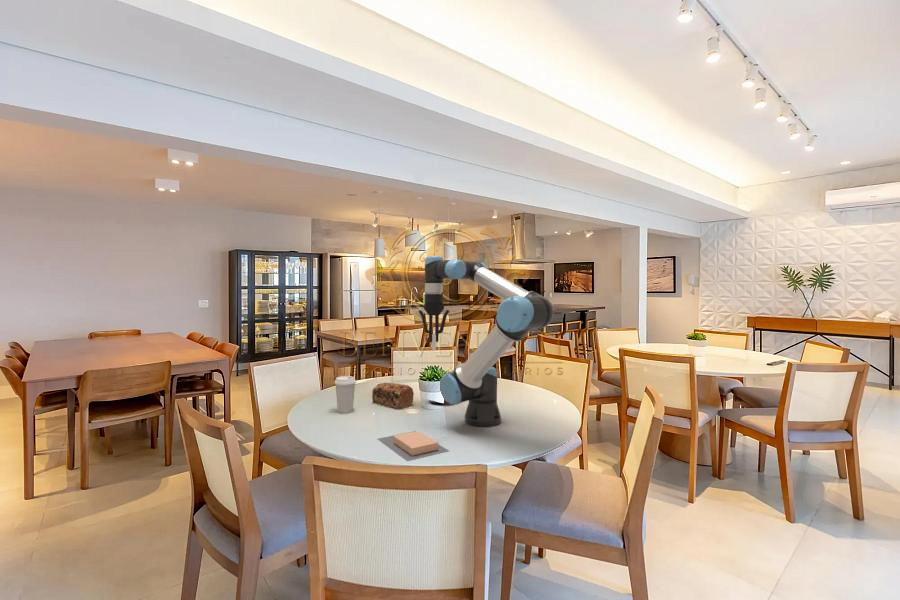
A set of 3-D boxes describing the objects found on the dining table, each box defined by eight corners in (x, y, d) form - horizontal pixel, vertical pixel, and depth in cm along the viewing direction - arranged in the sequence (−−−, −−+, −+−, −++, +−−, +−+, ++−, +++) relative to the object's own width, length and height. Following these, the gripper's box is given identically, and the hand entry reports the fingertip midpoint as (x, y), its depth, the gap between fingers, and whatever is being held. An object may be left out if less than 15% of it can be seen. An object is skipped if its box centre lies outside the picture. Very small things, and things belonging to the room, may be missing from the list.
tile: (393, 435, 152) (412, 448, 140) (418, 430, 157) (438, 442, 145) (393, 443, 152) (412, 456, 140) (418, 438, 157) (438, 450, 145)
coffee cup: (350, 414, 187) (350, 380, 187) (330, 413, 189) (330, 379, 189) (359, 408, 196) (359, 376, 196) (340, 407, 198) (340, 375, 198)
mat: (376, 439, 156) (376, 438, 156) (415, 432, 165) (415, 431, 165) (407, 462, 136) (407, 461, 136) (449, 452, 145) (449, 451, 145)
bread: (414, 405, 203) (414, 384, 202) (397, 410, 195) (397, 388, 194) (387, 399, 215) (387, 379, 215) (371, 403, 207) (370, 382, 207)
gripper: (448, 293, 184) (448, 348, 185) (417, 293, 183) (417, 348, 183) (450, 293, 177) (450, 350, 178) (418, 293, 175) (418, 351, 176)
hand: (433, 349), depth 180 cm, fingers closed
